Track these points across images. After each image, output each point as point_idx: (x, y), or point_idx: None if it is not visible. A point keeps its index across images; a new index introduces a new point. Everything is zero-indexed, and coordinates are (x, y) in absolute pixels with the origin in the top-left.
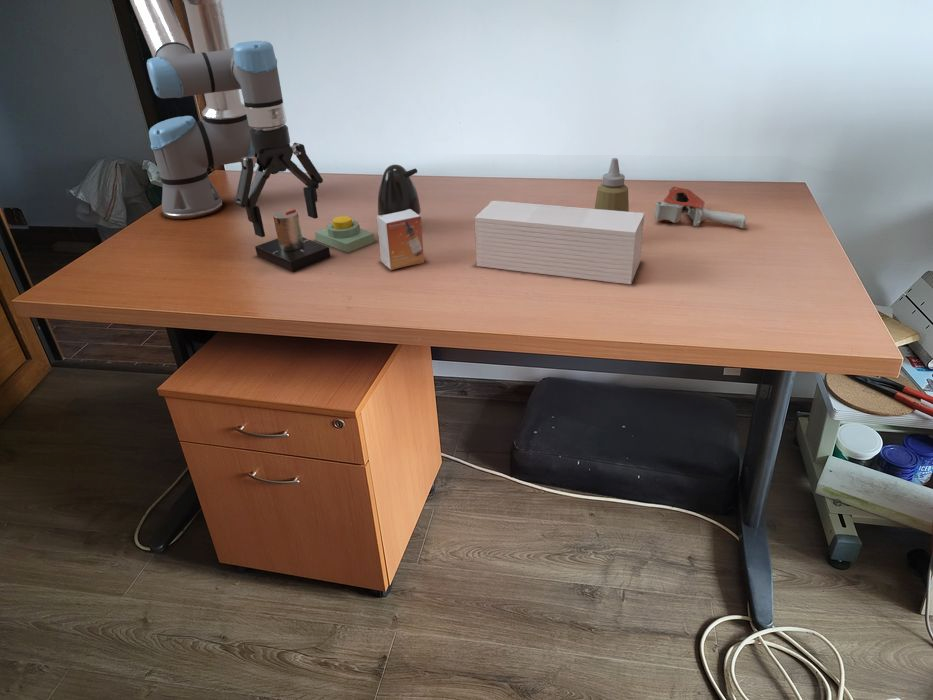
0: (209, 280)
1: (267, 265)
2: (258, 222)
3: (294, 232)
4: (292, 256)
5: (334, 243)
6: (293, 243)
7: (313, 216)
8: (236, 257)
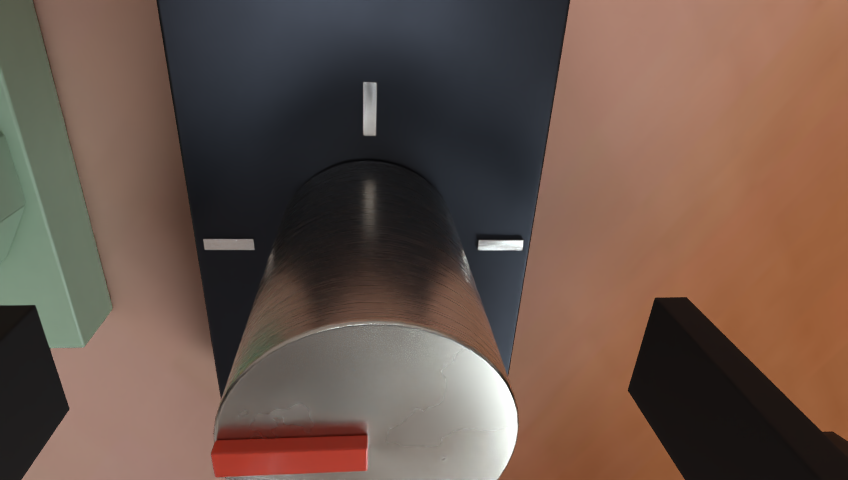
0: (809, 303)
1: (540, 232)
2: (785, 411)
3: (380, 219)
4: (489, 77)
5: (38, 108)
6: (404, 185)
7: (31, 339)
8: (547, 425)
